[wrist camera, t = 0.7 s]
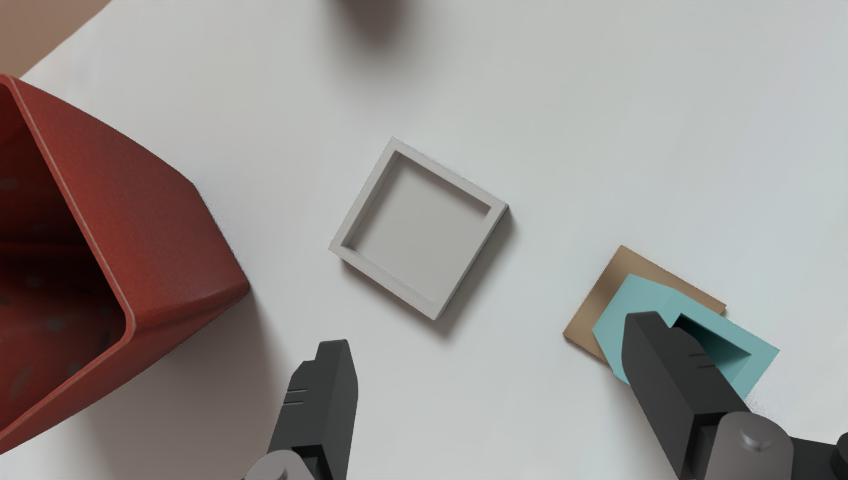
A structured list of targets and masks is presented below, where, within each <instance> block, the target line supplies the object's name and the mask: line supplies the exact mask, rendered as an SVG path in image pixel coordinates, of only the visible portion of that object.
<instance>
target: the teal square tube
mask: <svg viewBox="0 0 848 480" xmlns="http://www.w3.org/2000/svg"><path fill="white" fill-rule="evenodd" d="M645 311H657V312H658V313H659V314H660V316H661V317H662V318H663V320H664V321H665V323H666V324H667V326H668V327H669V328H671V327H672V325H673V324H674V323H675V324H674V325H673V327H672V328H674V327H679V328H681V329H682V330H684V331H685V332H687V333H688V334H690V335H691V336H692V337H694V338H695V339H696V340H697V341H698V342H699V344H700V345H701V346H702V348H703V349H704V350H705V352H706V353H707V356H709V357H710V358H711V360H712V361H713V362H714V363H715V365H716V368H718V369H719V370H720V371H721V373H722V374H723V375H724V377H725V378H726V379H727V381H728V382H729V383H730V385H731V386H732V387H733V389H734V390H735V391H736V393H737V394H738V395H739V396H740V398H741V399H742V400H743V401H744V399H745V398H746V396H747V395H748V394H749V392H750V391H751V390H752V388H753V387H754V385H755V384H756V383H757V381H758V380H759V379H760V377H761V376H762V375H763V373H764V372H765V370H766V369H767V368H768V366H769V365H770V364H771V362H772V361H773V360H774V358H775V357H776V355H777V354H778V353H779V351H780V350H779V349H777V348H775V347H774V346H772V345H770V344H769V343H767V342H765V341H763V340H762V339H760V338H758V337H757V336H755V335H753V334H751V333H750V332H748V331H746V330H745V329H743V328H741V327H739V326H738V325H736V324H734V323H732V322H731V321H729V320H727V319H726V318H724V317H722V316H720V315H719V314H717V313H715V312H714V311H712V310H710V309H708V308H707V307H705V306H703V305H702V304H700V303H698V302H696V301H695V300H693V299H691V298H690V297H688V296H686V295H684V294H683V293H681V292H679V291H678V290H676V289H673V288H671V287H668V286H665V285H662V284H659V283H656V282H653V281H650V280H647V279H645V278H642V277H639V276H636V275H633V274H630V273H629V274H628V276H627V277H626V279H625V280H624V282H623V283H622V285H621V286H620V288H619V289H618V291H617V292H616V294H615V295H614V297H613V298H612V300H611V301H610V303H609V304H608V306H607V307H606V309H605V310H604V312H603V313H602V315H601V316H600V318H599V319H598V321H597V322H596V324H595V325H594V327H593V328H592V331H593V333H594V335H595V337H596V339H597V341H598V343H599V345H600V347H601V349H602V351H603V353H604V355H605V357H606V359H607V361H608V362H609V364H610V366H611V368H612V370H613V372H614V374H615V376H616V377H618V378H619V379H621V380H622V381H624V382H626V383H627V384H629V382H628V380H627V378H626V376H625V373H624V370H623V366H622V360H621V351H622V342H623V333H624V324H625V317H626V315H627V314H628V313H635V312H645ZM629 385H630V384H629Z"/></svg>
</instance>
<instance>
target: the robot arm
mask: <svg viewBox="0 0 848 480" xmlns="http://www.w3.org/2000/svg"><path fill="white" fill-rule="evenodd" d="M621 360H622V366H623V370H624V373H625V376H626V378H627V380H628V382H629V384H630V386H631V388H632V390H633V391H634V393H635V395H636V397H637V399H638V401H639V403H640V405H641V407H642V409H643V411H644V413H645V415H646V417H647V419H648V421H649V423H650V425H651V427H652V429H653V431H654V433H655V434H656V436H657V438H658V440H659V442H660V444H661V446H662V448H663V450H664V452H665V454H666V456H667V458H668V460H669V462H670V464H671V466H672V468H673V470H674V472H675V474H676V476H677V477H678V479H679V480H694V479H696V480H848V432H847V433H845V434H843V435H842V436H841V437H840V438H839V440H838V442H837V444H836V445H832V444H826V443H821V442H815V441H809V440H804V439H798V438H794V437H791V436H788V434H787V433H786V432H785V431H784V430H783V429H782V428H781V427H780V426H778V425H777V424H776V423H774V422H773V421H771V420H769V419H767V418H765V417H763V416H760V415H758V414H754V413H752V412H751V411H750V410H749V408H748V407H747V406H746V404H745V403H744V402H743V400H742V399H741V398H740V396H739V395H738V394H737V393H736V391H735V390H734V389H733V387H732V386H731V385H730V383H729V382H728V381H727V379H726V378H725V377H724V375H723V374H722V373H721V371H720V370H719V369H718V368H716V365H715V363H714V362H713V361H712V360H711V358H710V357H709V356H707V353H706V352H705V350H704V349H703V348H702V346H701V345H700V344H699V342H698V341H697V340H696V339H695V338H694V337H692V336H691V335H690V334H688V333H687V332H685V331H684V330H682V329H681V328H679V327H674V328H669V327H668V326H667V324H666V323H665V321H664V320H663V318H662V317H661V316H660V314H659V313H658V312H657V311H645V312H635V313H628V314H627V315H626V317H625V324H624V333H623V342H622V351H621ZM287 391H288V392H287V393H286V396H285V399H284V402H283V403H284V405H283V406H282V408H281V411H280V415H279V418H278V421H277V424H276V427H275V430H274V433H273V436H272V439H271V443H270V446H269V449H268V452H267V454H266V455H265V456H263V457H262V458H260V459H259V460H258V461H256V462H255V463H254V464H253V466H252V467H251V468H250V469H249V471H248V472H247V474H246V477H245V478H243V479H242V480H346V475H347V469H348V462H349V455H350V448H351V442H352V435H353V428H354V421H355V415H356V408H357V401H358V381H357V376H356V372H355V368H354V364H353V360H352V356H351V352H350V348H349V344H348V342H347V340H346V339H343V340H333V341H323V342H320V344H319V346H318V350H317V354H316V357H315V360H311V361H303V362H302V364H301V365H300V366H299V367H298V369H297V370H296V371H295V372H294V373H293V375H292V377H291V380H290V383H289V387H288V390H287Z"/></svg>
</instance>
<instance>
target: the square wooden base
mask: <svg viewBox="0 0 848 480" xmlns="http://www.w3.org/2000/svg"><path fill="white" fill-rule="evenodd" d="M629 273H630V274H633V275H636V276H639V277H642V278H645V279H647V280H650V281H653V282H656V283H659V284H662V285H665V286H668V287H671V288H673V289H676V290H678V291H679V292H681V293H683V294H684V295H686V296H688V297H690V298H691V299H693V300H695V301H696V302H698V303H700V304H702V305H703V306H705V307H707V308H708V309H710V310H712V311H714V312H715V313H717V314H719V315H720V314H721V313H722V311H723V310H724V308H725V307H726V305H725V304H724V303H722V302H720V301H718V300H717V299H715V298H713V297H711V296H710V295H708V294H706V293H704V292H703V291H701V290H699V289H698V288H696V287H694V286H692V285H691V284H689V283H687V282H685V281H684V280H682V279H680V278H678V277H677V276H675V275H673V274H671V273H670V272H668V271H666V270H665V269H663V268H661V267H659V266H658V265H656V264H654V263H652V262H651V261H649V260H647V259H645V258H644V257H642V256H640V255H638V254H637V253H635V252H633V251H632V250H630V249H628V248H626V247H625V246H623V245H621V246H620V247H619V249H618V250H617V252H616V253H615V255H614V256H613V258H612V259H611V261H610V262H609V264H608V265H607V267H606V268H605V270H604V271H603V273H602V274H601V276H600V278H599V279H598V281H597V282H596V284H595V285H594V287H593V288H592V290H591V291H590V293H589V294H588V296H587V297H586V299H585V300H584V302H583V303H582V305H581V306H580V308H579V309H578V311H577V312H576V314H575V315H574V317H573V318H572V320H571V322H570V323H569V325H568V326H567V328H566V329H565V331H564V332H563V335H564V336H565V337H567V338H569V339H570V340H572V341H573V342H575V343H576V344H578V345H579V346H581V347H583V348H584V349H586V350H587V351H589V352H590V353H592V354H594V355H595V356H597V357H598V358H600V359H601V360H603V361H604V362H606V363H608V364H609V362H608V361H607V359H606V357H605V355H604V353H603V351H602V349H601V347H600V345H599V343H598V341H597V339H596V337H595V335H594V333H593V331H592V328H593V327H594V325H595V324H596V322H597V321H598V319H599V318H600V316H601V315H602V313H603V312H604V310H605V309H606V307H607V306H608V304H609V303H610V301H611V300H612V298H613V297H614V295H615V294H616V292H617V291H618V289H619V288H620V286H621V285H622V283H623V282H624V280H625V279H626V277H627V276H628V274H629ZM674 324H675V323H674ZM674 324H673V325H674ZM673 325H672V327H673ZM672 327H671V328H672ZM609 365H610V364H609Z"/></svg>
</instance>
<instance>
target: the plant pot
mask: <svg viewBox="0 0 848 480" xmlns="http://www.w3.org/2000/svg"><path fill="white" fill-rule="evenodd" d="M248 290H249V284H248V280H247V278H246V276H245V275H244V273H243V271H242V270H241V268H240V266H239V264H238V262H237V260H236V259H235V257H234V255H233V253H232V252H231V250H230V248H229V246H228V244H227V243H226V241H225V239H224V237H223V236H222V234H221V232H220V230H219V229H218V227H217V225H216V223H215V222H214V220H213V218H212V216H211V214H210V213H209V211H208V209H207V207H206V205H205V204H204V202H203V200H202V198H201V197H200V195H199V193H198V191H197V190H196V188H195V186H194V185H193V183H192V182H190V181H189V180H188V179H187V178H185V177H184V176H183V175H182V174H181V173H180V172H178V171H177V170H176V169H174V168H173V167H171V166H170V165H169V164H167V163H166V162H164V161H163V160H162V159H160V158H159V157H157V156H156V155H154V154H153V153H152V152H150V151H149V150H147V149H146V148H144V147H143V146H141V145H140V144H138V143H136V142H135V141H133V140H132V139H130V138H129V137H127V136H126V135H124V134H122V133H121V132H119V131H117V130H116V129H114V128H112V127H111V126H109V125H107V124H105V123H104V122H102V121H100V120H98V119H97V118H95V117H93V116H91V115H89V114H87V113H86V112H84V111H82V110H80V109H78V108H76V107H74V106H73V105H71V104H69V103H67V102H65V101H63V100H61V99H59V98H57V97H55V96H53V95H51V94H49V93H47V92H45V91H43V90H41V89H39V88H36V87H34V86H32V85H30V84H28V83H25V82H23V81H21V80H19V79H17V78H15V77H12V76H9V75H6V74H2V73H1V74H0V455H1V454H3V453H5V452H7V451H9V450H11V449H13V448H15V447H17V446H18V445H20V444H22V443H24V442H26V441H28V440H30V439H32V438H34V437H35V436H37V435H39V434H41V433H43V432H45V431H46V430H48V429H50V428H52V427H54V426H55V425H57V424H59V423H61V422H62V421H64V420H66V419H68V418H69V417H71V416H73V415H75V414H76V413H78V412H80V411H81V410H83V409H85V408H86V407H88V406H90V405H91V404H93V403H95V402H96V401H98V400H100V399H101V398H103V397H104V396H106V395H108V394H109V393H111V392H112V391H114V390H115V389H117V388H118V387H120V386H122V385H123V384H125V383H126V382H128V381H129V380H131V379H132V378H134V377H135V376H136V375H138V374H139V373H141V372H142V371H144V370H145V369H147V368H148V367H150V366H151V365H152V364H154V363H155V362H157V361H158V360H159V359H161V358H162V357H163V356H165V355H166V354H167V353H169V352H170V351H171V350H173V349H174V348H175V347H177V346H178V345H179V344H181V343H182V342H183V341H185V340H186V339H187V338H189V337H190V336H192V335H193V334H194V333H196V332H197V331H198V330H200V329H201V328H202V327H204V326H205V325H206V324H208V323H209V322H211V321H212V320H213V319H215V318H216V317H217V316H219V315H220V314H221V313H223V312H224V311H225V310H227V309H228V308H230V307H231V306H232V305H234V304H235V303H236V302H238V301H239V300H241V299H242V298H243V297H244V296H245V295H246V294H247V292H248Z"/></svg>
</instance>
